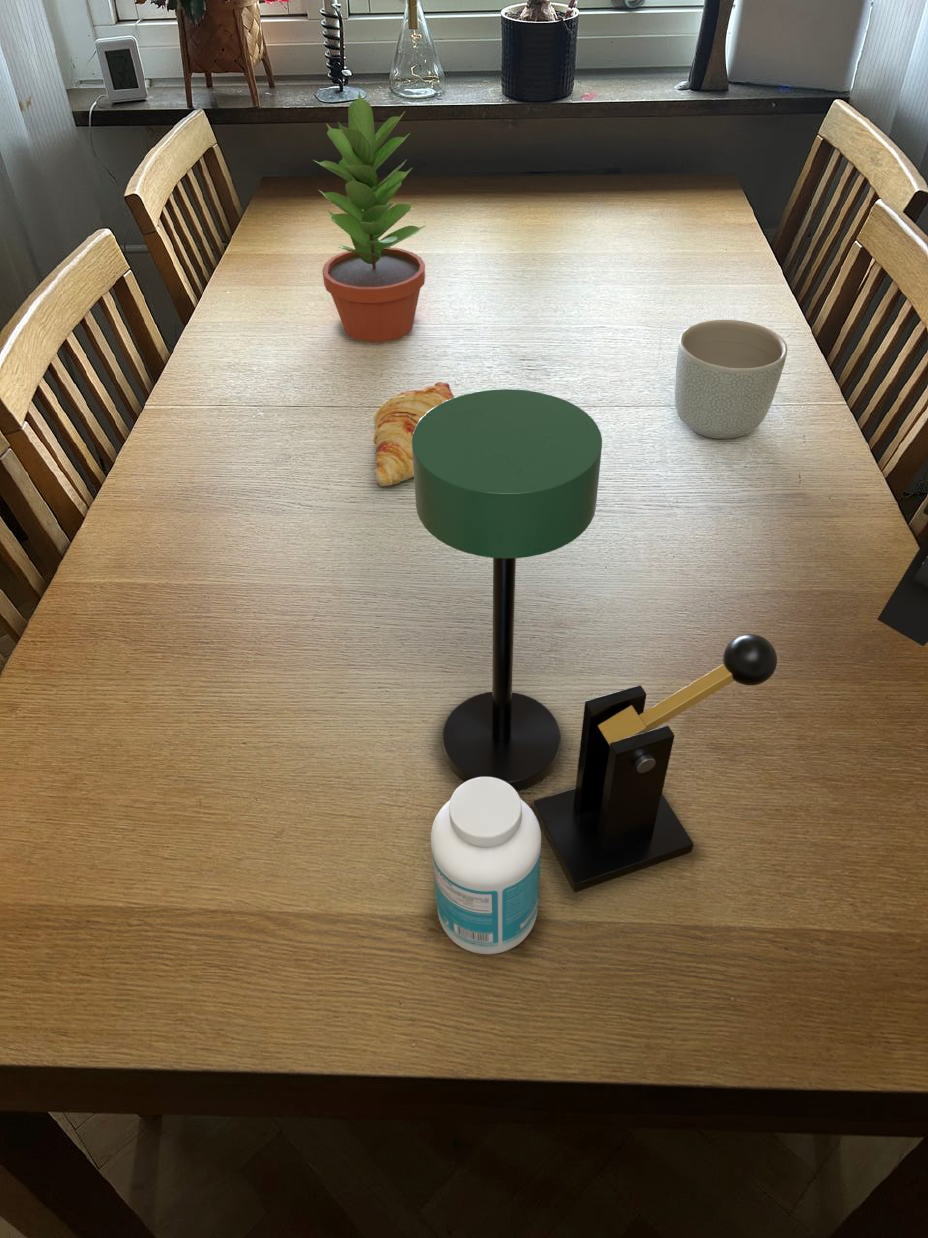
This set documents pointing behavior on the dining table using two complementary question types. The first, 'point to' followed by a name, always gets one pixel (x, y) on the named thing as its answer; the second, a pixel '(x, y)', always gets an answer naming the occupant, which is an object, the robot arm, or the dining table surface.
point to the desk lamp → (505, 545)
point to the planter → (727, 376)
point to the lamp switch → (700, 687)
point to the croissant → (402, 430)
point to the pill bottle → (486, 866)
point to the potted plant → (371, 235)
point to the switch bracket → (614, 801)
